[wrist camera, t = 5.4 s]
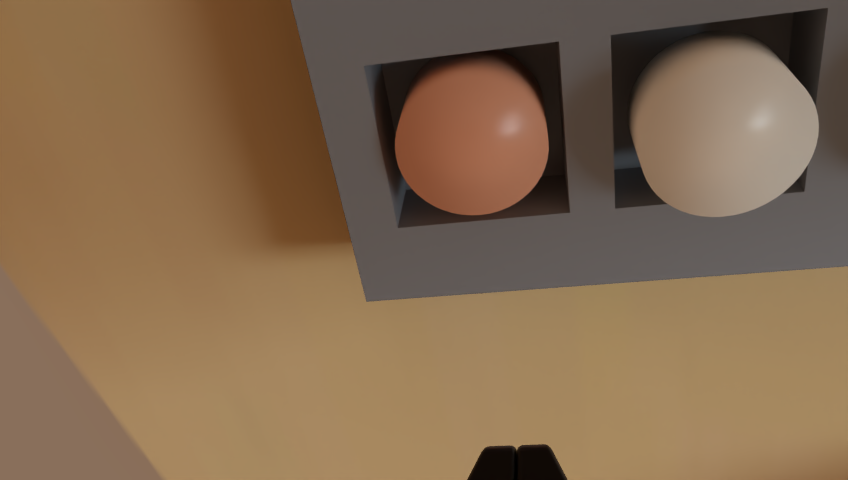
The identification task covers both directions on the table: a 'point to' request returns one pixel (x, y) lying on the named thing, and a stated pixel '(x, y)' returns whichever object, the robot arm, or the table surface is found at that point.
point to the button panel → (566, 143)
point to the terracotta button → (473, 133)
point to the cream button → (720, 124)
